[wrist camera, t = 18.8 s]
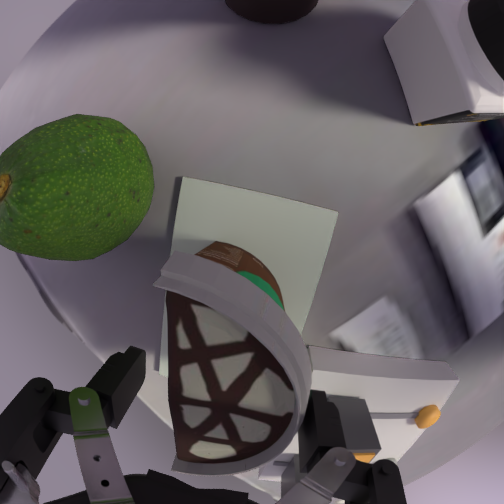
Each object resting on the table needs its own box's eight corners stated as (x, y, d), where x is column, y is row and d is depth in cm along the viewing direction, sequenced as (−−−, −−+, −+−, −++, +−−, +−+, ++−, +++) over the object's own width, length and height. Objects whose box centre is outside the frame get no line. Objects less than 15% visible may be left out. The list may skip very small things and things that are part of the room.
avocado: (188, 221, 19) (82, 293, 7) (96, 247, 20) (-23, 314, 8) (160, 108, 17) (37, 51, 5) (72, 148, 18) (-58, 151, 6)
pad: (336, 211, 18) (338, 212, 18) (275, 398, 22) (275, 401, 22) (185, 176, 18) (182, 176, 18) (160, 371, 22) (159, 374, 22)
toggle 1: (325, 457, 20) (331, 500, 15) (310, 476, 21) (313, 516, 17) (294, 455, 20) (296, 500, 15) (281, 475, 21) (281, 516, 17)
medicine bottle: (412, 127, 16) (543, 100, 5) (380, 36, 14) (464, -54, 3) (480, 121, 15) (595, 111, 4) (452, 40, 13) (544, -12, 2)
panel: (445, 361, 21) (463, 385, 17) (373, 462, 25) (379, 485, 21) (308, 345, 21) (314, 376, 17) (259, 457, 25) (257, 485, 21)
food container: (284, 384, 21) (282, 492, 11) (207, 373, 21) (171, 475, 12) (315, 230, 18) (356, 296, 8) (217, 217, 18) (152, 268, 8)
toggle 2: (364, 399, 18) (382, 451, 13) (343, 432, 19) (354, 481, 14) (328, 396, 18) (339, 452, 13) (309, 429, 19) (315, 482, 14)
